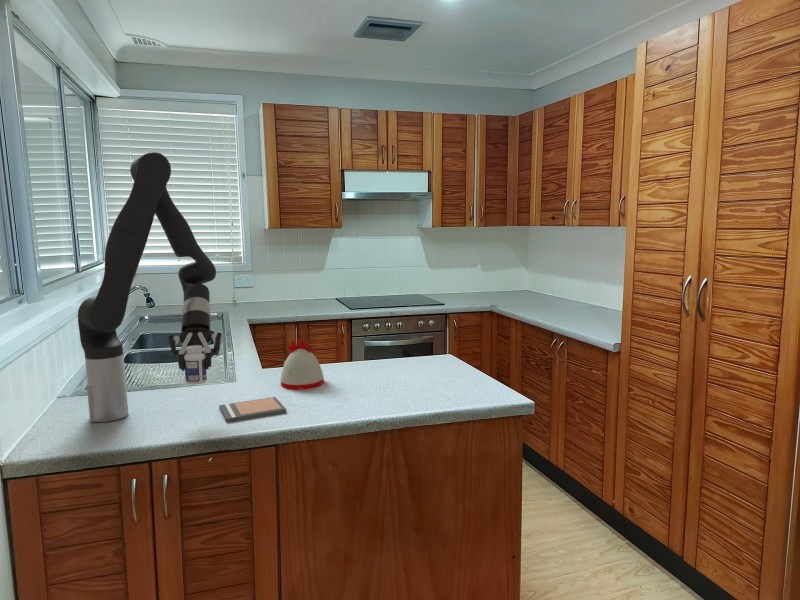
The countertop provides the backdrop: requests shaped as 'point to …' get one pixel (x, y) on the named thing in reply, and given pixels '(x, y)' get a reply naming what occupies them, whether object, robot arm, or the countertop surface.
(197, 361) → the pill bottle
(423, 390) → the countertop surface
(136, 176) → the robot arm
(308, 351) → the white and red dome
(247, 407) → the line mat
